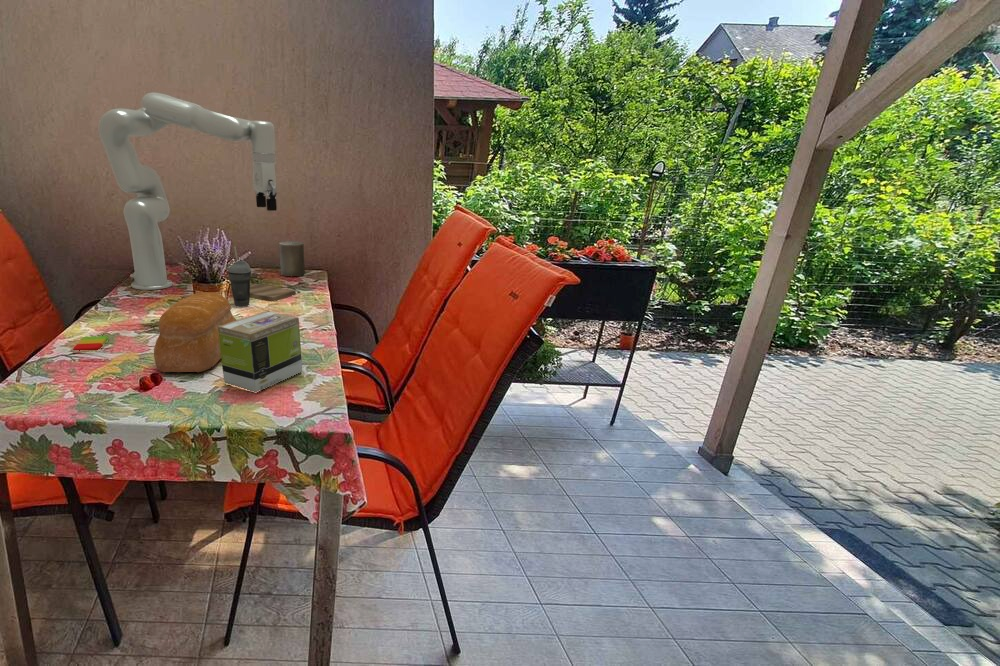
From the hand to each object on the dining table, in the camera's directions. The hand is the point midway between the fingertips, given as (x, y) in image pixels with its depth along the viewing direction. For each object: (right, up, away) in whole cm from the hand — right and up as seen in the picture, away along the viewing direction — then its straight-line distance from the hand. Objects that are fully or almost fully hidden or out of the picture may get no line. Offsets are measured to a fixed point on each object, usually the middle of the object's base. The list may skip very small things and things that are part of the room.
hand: (266, 208), depth 190 cm
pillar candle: (-5, -20, +37) cm, 43 cm away
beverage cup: (-4, -35, -9) cm, 37 cm away
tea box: (+27, -56, -63) cm, 89 cm away
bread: (+6, -51, -53) cm, 73 cm away
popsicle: (-23, -48, -51) cm, 74 cm away
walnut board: (-3, -30, +5) cm, 31 cm away
